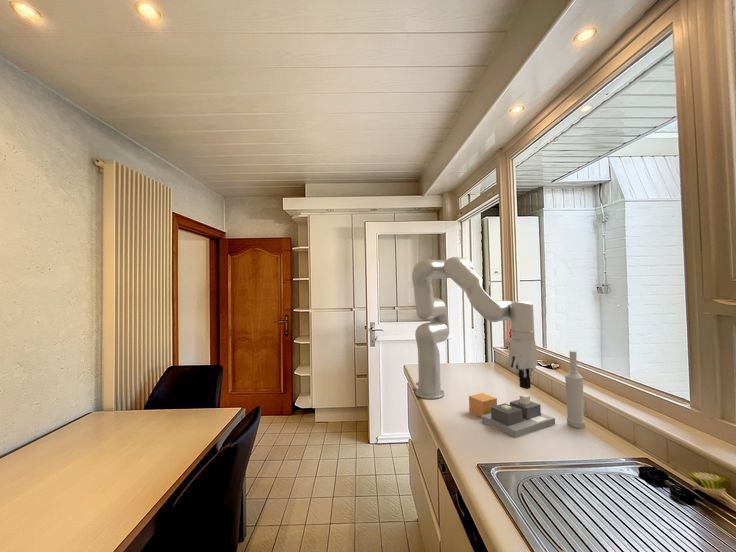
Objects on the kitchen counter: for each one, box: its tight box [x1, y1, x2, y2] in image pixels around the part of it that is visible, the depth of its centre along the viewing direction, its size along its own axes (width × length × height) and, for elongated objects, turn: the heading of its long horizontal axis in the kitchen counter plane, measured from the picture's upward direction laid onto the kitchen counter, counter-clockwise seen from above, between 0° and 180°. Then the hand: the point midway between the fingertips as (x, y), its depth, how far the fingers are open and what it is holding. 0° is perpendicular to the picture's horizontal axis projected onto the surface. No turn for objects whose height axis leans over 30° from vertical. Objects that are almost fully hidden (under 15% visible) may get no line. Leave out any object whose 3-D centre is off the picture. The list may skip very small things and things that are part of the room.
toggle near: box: [501, 404, 512, 411], centre depth 112 cm, size 2×2×4 cm
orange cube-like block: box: [468, 392, 498, 419], centre depth 123 cm, size 7×7×6 cm
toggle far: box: [519, 394, 531, 405], centre depth 116 cm, size 2×2×4 cm
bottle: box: [564, 350, 586, 429], centre depth 111 cm, size 5×5×25 cm
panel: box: [481, 398, 556, 438], centre depth 114 cm, size 14×20×6 cm
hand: (525, 387), depth 116 cm, fingers closed
